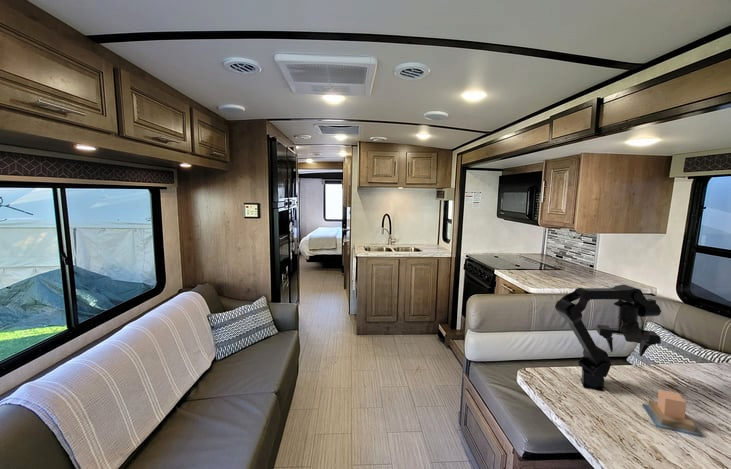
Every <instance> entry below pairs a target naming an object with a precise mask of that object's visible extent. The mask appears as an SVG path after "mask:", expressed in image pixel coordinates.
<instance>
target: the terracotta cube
mask: <svg viewBox="0 0 731 469" xmlns="http://www.w3.org/2000/svg"><path fill="white" fill-rule="evenodd" d="M657 394H658V396H657V402H658V407H659V408H660V410H661V411H662V412H663V414H664V415H667V416H672V417H677V418H681V419H685V414H686V407H687V402H686V400H685V399H684V398H683V397H682V396H681V395H680V394H679V392H673V391H668V390H663V389H658V391H657Z"/></svg>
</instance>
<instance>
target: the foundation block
mask: <svg viewBox="0 0 731 469" xmlns="http://www.w3.org/2000/svg"><path fill="white" fill-rule="evenodd" d="M641 404H642V405H641V406H642V407H643V409H644V411H645V412H646V413H647V415H648V417H649V418H650V420H651V421H652V423H653V424H654V426H655V427H656V428H660V429H665V430H669V431H674V432H677V433H682V434H687V435H690V436H691V435H692V436H695V437H699V438H703V434H702V432H701V431H700V430H699V429H698V427H697V426H696V425H695V423H694V422H693V421H692V420H691V418H689V416H688V415H687V414H686V413H685V419H681V418H677V417H672V416H667V415H664V414H663V412H662V411H661V410H660V408H659V407H658V400H657V401H655V400H651V399H649V400H648V403H641Z"/></svg>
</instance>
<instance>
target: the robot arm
mask: <svg viewBox="0 0 731 469" xmlns="http://www.w3.org/2000/svg"><path fill="white" fill-rule="evenodd" d="M576 300H578V301H577V303H576V304H575V303H574V301H576ZM592 300H617V301H615V302H614V303H613V305H614V306H616V307H618V315H617V321H618V322H617V325H616V326H617V327H616V328H617V329H615V328H613V329H612V328H611V327H610V326H609V325H605V324H604V325H603V324H597V325H596V328H595V329H596V332H597V334H598V335H599V337H600V336H601V337H602V338H604V339H605V340H606V342H607V346H608V348H609V351H610V352H611V353H613V349H614V348H613V347H614V346H613V345H614V344H613V340H614V337H613V335H618V336H623V338H624V340H625V341H626V342H629V343H637V344H639V352H638V354H639V356H640V357H643V355H644V354H645V353H646V351H647V349H648V348H649V347H650V346H656V345H657V344H658V345H659V344H661V343H662V338H661V336H660V335H659V334H658V333H657V332H655V331H654V330H647V329H646V330H645V329H640V325H639V324H640V323H639V317H641V318H644V317H645V318H646V317H647V318H648V317H658V316H660V315H661V313H662V310H661V308H660V306H659V305H658V304H657V300H655V299H653V298H646V297H645V295H644V293H643V290H642V289H640V288H637V287H634V286H631V285H628V284H619V285H614V286H613V287H594V288H593V287H587V288H586V287H584V288H583V287H576V289H574V290H573V291H572V292H570V293H568V294H565V295H563V296H562V297H561V298H560V299H558V301H557V302H556V303H555V305H554V308H555V310H556V311H557V313H558V314H559V315H560V316H561V317H562V318H563V319H564V320H565V321H566V322H567V323H568V325H569V327H570V328H571V330H572V331H573V333H574V335H575V336H576V338H577V340H578V342H579V343H580V345H581V347H582V349H583V350H582V355H583V356H582V357H581V358H580V359H579V360H577V364H578V365H579V367H581V378H580V381H581V385H582V386H583V388H584V389H588V390H589V389H590V390H594V391H598V392H604V388H605V378H606V377H607V376H608V374H609V372H610V369H611V367H612V362H611V361H612V358H610V357H609V354H608V353H607V351H605V349H604V350H603V349H602V348H600V346H598V345H597V344H596V343H595V341H594V339H593V338H592V336H591V334H590V333H589V332H590V331H588V329H587V327H586V326H585V324H584V322H583V320H582V319H583V313H582V312H583V311H585V309H587V308H586V307H587V306H588V303H589V301H592Z"/></svg>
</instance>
